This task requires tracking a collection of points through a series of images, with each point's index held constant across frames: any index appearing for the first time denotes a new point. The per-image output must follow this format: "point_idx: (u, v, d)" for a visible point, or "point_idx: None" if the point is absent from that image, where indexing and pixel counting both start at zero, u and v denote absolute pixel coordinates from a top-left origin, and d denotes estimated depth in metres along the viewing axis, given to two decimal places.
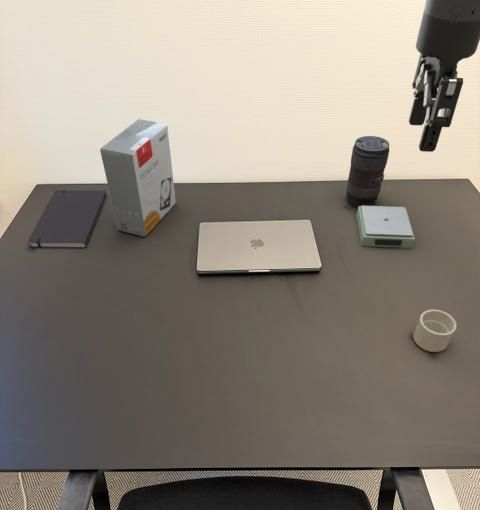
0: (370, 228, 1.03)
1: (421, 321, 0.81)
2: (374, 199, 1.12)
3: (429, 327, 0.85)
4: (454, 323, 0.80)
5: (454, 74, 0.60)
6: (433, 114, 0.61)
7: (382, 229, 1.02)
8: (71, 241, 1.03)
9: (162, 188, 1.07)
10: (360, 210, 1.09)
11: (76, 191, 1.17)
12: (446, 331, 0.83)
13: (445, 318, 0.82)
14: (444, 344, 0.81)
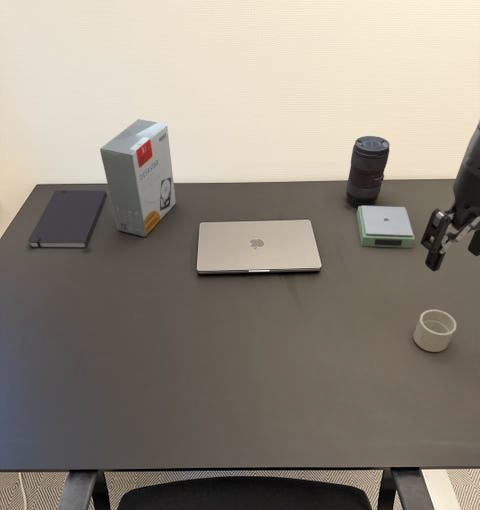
0: (370, 228, 1.03)
1: (421, 321, 0.81)
2: (374, 199, 1.12)
3: (429, 327, 0.85)
4: (454, 323, 0.80)
5: (458, 214, 0.64)
6: None
7: (382, 229, 1.02)
8: (71, 241, 1.03)
9: (162, 188, 1.07)
10: (360, 210, 1.09)
11: (76, 191, 1.17)
12: (446, 331, 0.83)
13: (445, 318, 0.82)
14: (444, 344, 0.81)
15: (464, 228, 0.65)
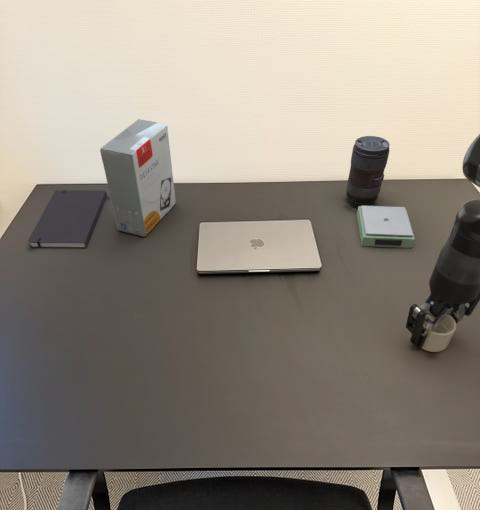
0: (370, 228, 1.03)
1: None
2: (374, 199, 1.12)
3: None
4: (454, 323, 0.80)
5: (433, 307, 0.75)
6: None
7: (382, 229, 1.02)
8: (71, 241, 1.03)
9: (162, 188, 1.07)
10: (360, 210, 1.09)
11: (76, 191, 1.17)
12: (446, 331, 0.83)
13: (445, 318, 0.82)
14: (444, 344, 0.81)
15: (439, 317, 0.76)
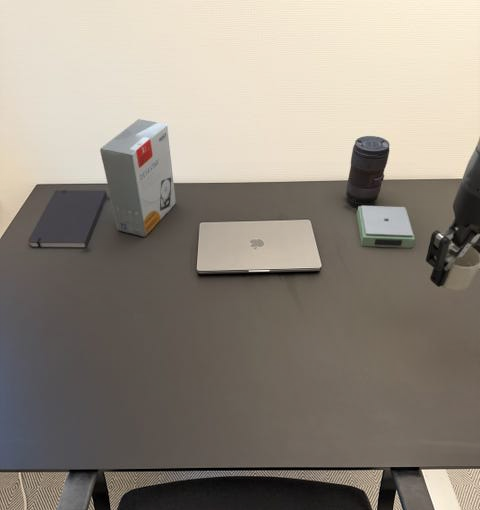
0: (370, 228, 1.03)
1: None
2: (374, 199, 1.12)
3: None
4: None
5: (458, 233, 0.66)
6: None
7: (382, 229, 1.02)
8: (71, 241, 1.03)
9: (162, 188, 1.07)
10: (360, 210, 1.09)
11: (76, 192, 1.17)
12: None
13: (468, 252, 0.74)
14: (469, 280, 0.72)
15: (465, 246, 0.68)
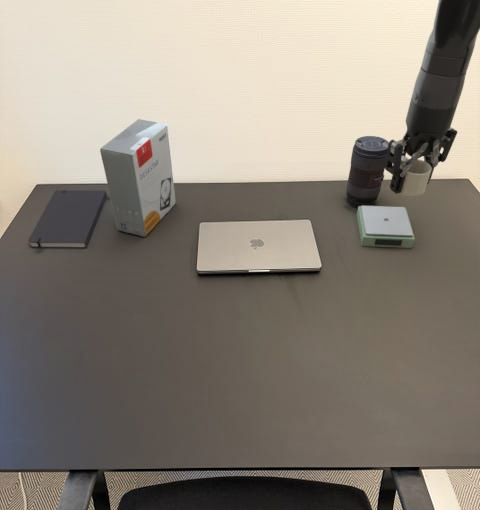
0: (370, 228, 1.03)
1: None
2: (374, 199, 1.12)
3: None
4: (430, 167, 0.87)
5: (409, 141, 0.81)
6: None
7: (382, 229, 1.02)
8: (71, 241, 1.03)
9: (162, 188, 1.07)
10: (360, 210, 1.09)
11: (76, 191, 1.17)
12: None
13: (421, 165, 0.89)
14: (421, 186, 0.87)
15: (416, 153, 0.83)
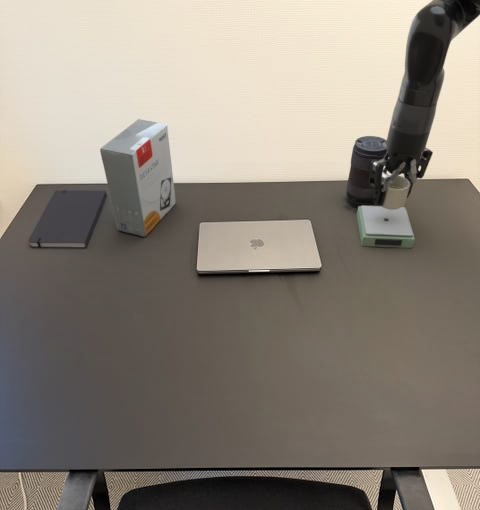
0: (370, 228, 1.03)
1: None
2: None
3: None
4: (408, 183, 0.98)
5: (389, 161, 0.92)
6: None
7: (382, 229, 1.02)
8: (71, 241, 1.03)
9: (162, 188, 1.07)
10: (360, 210, 1.09)
11: (76, 191, 1.17)
12: None
13: (402, 181, 1.00)
14: (400, 200, 0.98)
15: (395, 172, 0.94)
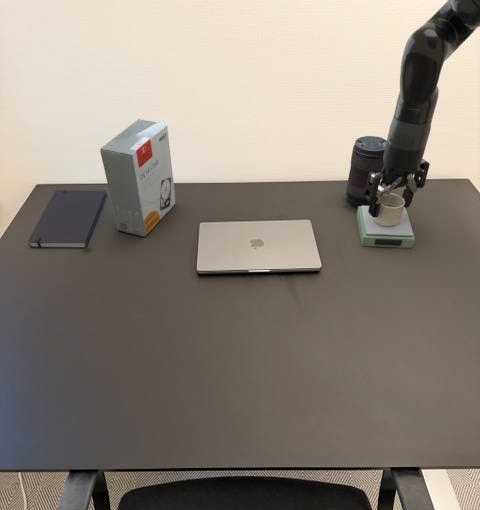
0: (370, 228, 1.03)
1: None
2: None
3: None
4: (403, 201, 1.01)
5: (386, 175, 0.94)
6: None
7: (382, 229, 1.02)
8: (71, 241, 1.03)
9: (162, 188, 1.07)
10: (360, 210, 1.09)
11: (76, 191, 1.17)
12: None
13: (397, 199, 1.03)
14: (396, 218, 1.01)
15: (391, 185, 0.96)
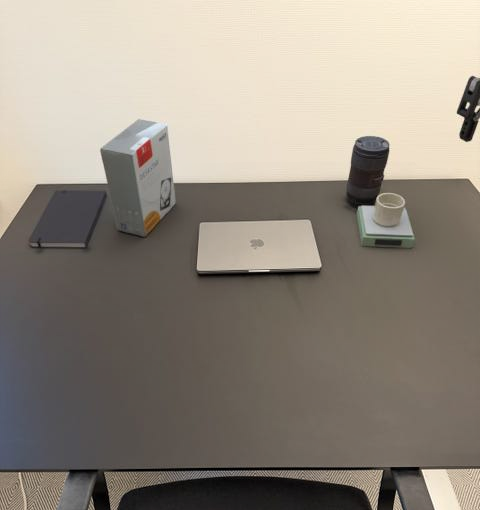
0: (370, 228, 1.03)
1: (377, 200, 1.01)
2: (374, 199, 1.12)
3: None
4: (403, 201, 1.01)
5: None
6: None
7: (382, 229, 1.02)
8: (71, 241, 1.03)
9: (162, 188, 1.07)
10: (360, 210, 1.09)
11: (76, 192, 1.17)
12: None
13: (397, 199, 1.03)
14: (396, 218, 1.01)
15: None
